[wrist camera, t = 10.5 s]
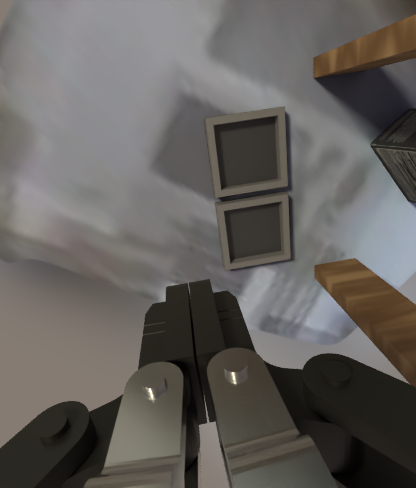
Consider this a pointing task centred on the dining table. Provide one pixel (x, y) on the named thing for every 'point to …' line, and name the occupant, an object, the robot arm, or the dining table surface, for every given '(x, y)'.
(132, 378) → the robot arm
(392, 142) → the small box
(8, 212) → the dining table surface
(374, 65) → the tunnel
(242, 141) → the tray
